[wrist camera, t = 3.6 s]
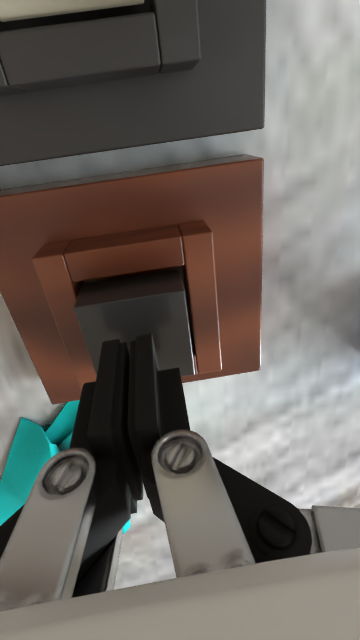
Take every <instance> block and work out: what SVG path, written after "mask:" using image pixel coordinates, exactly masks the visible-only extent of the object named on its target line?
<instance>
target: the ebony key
mask: <svg viewBox="0 0 360 640" xmlns="http://www.w3.org/2000/svg"><path fill="white" fill-rule="evenodd" d="M74 311H75V314H76V317H77V320H78V323H79V326H80V329H81V332H82V335H83V337H84V340H85V343H86V346H87V349H88V352H89V355H90V358H91V361H92V364H93V367H94V370H95V373H96V376H97V371H98V366H99V360H100V354H101V348H102V343H103V341H109V340H115V339H120V341H121V343H123V342H126V343H127V346H128V350H129V354H130V342H131V341H135V340H136V336H140V335H146V334H152V336H153V341H154V346H155V351H156V356H157V361H158V366H159V371H160V370H166V369H172V368H178V367H179V369H180V374H181V377H183V376H189V375H194V374H195V369H194V361H193V353H192V345H191V337H190V328H189V320H188V312H187V304H186V296H185V290H184V286H183V283H182V279H181V275H180V272H179V270H178V269H177V270H171V271H164V272H158V273H151V274H145V275H139V276H132V277H126V278H119V279H113V280H106V281H100V282H93V283H87V284H82V286H81V289H80V292H79V295H78V297H77V300H76V303H75V305H74Z"/></svg>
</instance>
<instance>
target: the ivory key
mask: <svg viewBox="0 0 360 640" xmlns="http://www.w3.org/2000/svg"><path fill="white" fill-rule="evenodd" d="M143 3H144V0H0V21H2V22H6V21H14V20H22V19H29V18H37V17H45V16H53V15H60V14H68V13H76V12H84V11H91V10H99V9H107V8H115V7H122V6H130V5H138V4H143Z"/></svg>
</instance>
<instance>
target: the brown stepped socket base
mask: <svg viewBox="0 0 360 640" xmlns="http://www.w3.org/2000/svg"><path fill="white" fill-rule="evenodd" d="M263 173H264V160H263V158H260V157H255V156H251V155H240V156H233V157H226V158H219V159H212V160H205V161H198V162H191V163H185V164H178V165H171V166H164V167H157V168H150V169H143V170H136V171H129V172H122V173H115V174H108V175H102V176H95V177H88V178H81V179H74V180H67V181H60V182H53V183H46V184H39V185H32V186H25V187H19V188H12V189H5V190H0V292H1V294H2V296H3V298H4V300H5V303H6V305H7V307H8V309H9V311H10V314H11V316H12V318H13V320H14V322H15V324H16V327H17V329H18V331H19V333H20V335H21V337H22V340H23V342H24V344H25V346H26V348H27V351H28V353H29V355H30V357H31V359H32V361H33V364H34V366H35V368H36V370H37V372H38V375H39V377H40V379H41V381H42V383H43V385H44V388H45V390H46V392H47V394H48V396H49V398H50V401H51V403H52V404H58V403H64V402H71V401H77V400H80V396H81V392H82V387H83V385H84V384H85V383H88V382H94V381H96V377H97V376H96V373H95V370H94V367H93V364H92V361H91V358H90V355H89V352H88V349H87V346H86V343H85V340H84V337H83V335H82V332H81V329H80V326H79V323H78V320H77V317H76V314H75V311H74V305H75V303H76V300H77V297H78V295H79V292H80V289H81V286H82V284H87V283H93V282H100V281H106V280H113V279H119V278H126V277H132V276H139V275H145V274H151V273H158V272H164V271H171V270H177V269H178V270H179V272H180V275H181V279H182V283H183V286H184V290H185V296H186V304H187V312H188V320H189V328H190V337H191V345H192V353H193V361H194V369H195V374H194V375H189V376H183V377H181V380H182V383H186V382H192V381H198V380H204V379H210V378H216V377H222V376H228V375H234V374H240V373H246V372H252V371H258V370H260V369H261V308H262V241H263Z"/></svg>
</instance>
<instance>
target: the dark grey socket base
mask: <svg viewBox="0 0 360 640" xmlns="http://www.w3.org/2000/svg"><path fill="white" fill-rule="evenodd" d="M265 43H266V0H144V3H143V4H138V5H130V6H122V7H115V8H107V9H99V10H91V11H84V12H76V13H68V14H60V15H53V16H45V17H37V18H29V19H22V20H14V21H6V22H2V21H0V166H4V165H11V164H18V163H25V162H32V161H39V160H46V159H53V158H60V157H67V156H74V155H81V154H88V153H95V152H102V151H109V150H116V149H123V148H130V147H137V146H144V145H151V144H158V143H166V142H173V141H180V140H187V139H194V138H201V137H208V136H215V135H222V134H229V133H236V132H243V131H250V130H257V129H262V128H264V110H265Z"/></svg>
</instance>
